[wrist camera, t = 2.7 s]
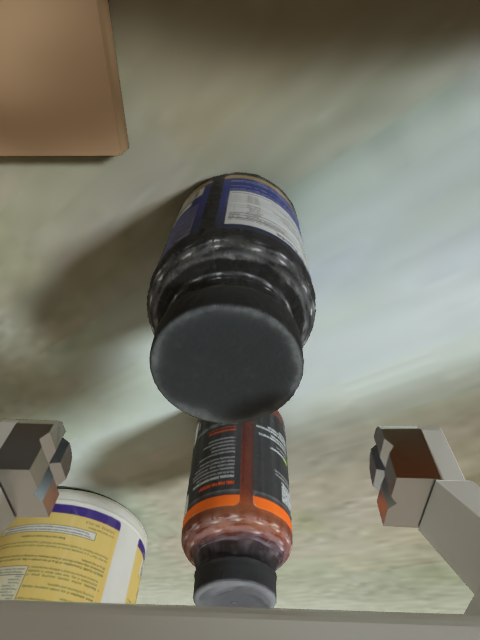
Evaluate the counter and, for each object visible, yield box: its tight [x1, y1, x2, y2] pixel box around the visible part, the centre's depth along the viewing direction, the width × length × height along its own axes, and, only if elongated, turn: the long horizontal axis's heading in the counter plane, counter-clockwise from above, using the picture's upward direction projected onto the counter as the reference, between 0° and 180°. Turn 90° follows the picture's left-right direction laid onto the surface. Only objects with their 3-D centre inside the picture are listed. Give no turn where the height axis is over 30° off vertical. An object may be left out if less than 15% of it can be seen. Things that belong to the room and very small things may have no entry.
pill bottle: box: [147, 172, 316, 423], centre depth 18 cm, size 6×6×11 cm
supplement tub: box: [0, 489, 147, 604], centre depth 31 cm, size 12×12×17 cm
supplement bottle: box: [182, 410, 292, 608], centre depth 26 cm, size 6×6×11 cm
